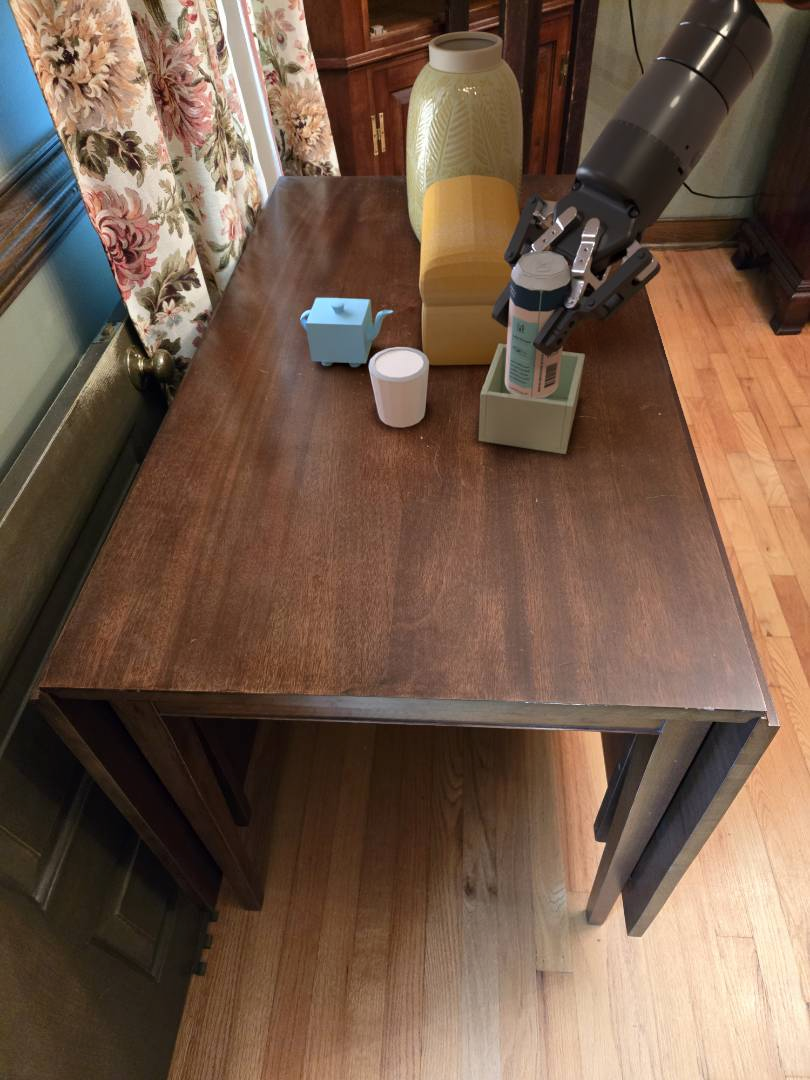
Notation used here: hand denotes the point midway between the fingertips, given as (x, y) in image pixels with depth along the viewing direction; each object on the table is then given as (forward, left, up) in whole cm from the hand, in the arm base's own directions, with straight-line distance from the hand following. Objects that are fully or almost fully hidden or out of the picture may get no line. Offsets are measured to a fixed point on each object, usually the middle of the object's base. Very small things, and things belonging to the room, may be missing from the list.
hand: (519, 335), depth 61 cm
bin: (0, -14, -20) cm, 24 cm away
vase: (+18, -56, -20) cm, 62 cm away
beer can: (-1, -1, -6) cm, 7 cm away
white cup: (+15, -12, -20) cm, 28 cm away
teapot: (+25, -22, -20) cm, 39 cm away
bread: (+12, -35, -20) cm, 42 cm away
